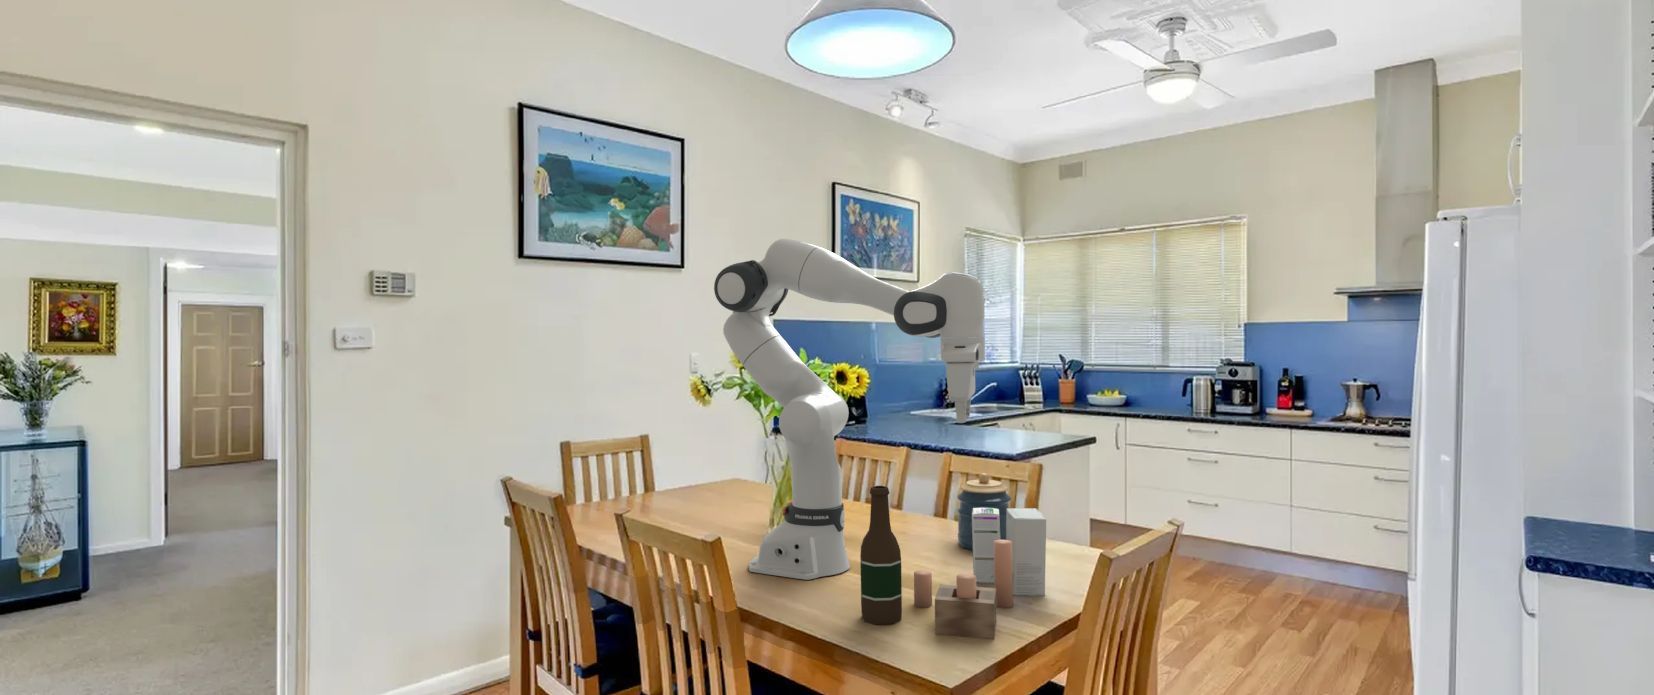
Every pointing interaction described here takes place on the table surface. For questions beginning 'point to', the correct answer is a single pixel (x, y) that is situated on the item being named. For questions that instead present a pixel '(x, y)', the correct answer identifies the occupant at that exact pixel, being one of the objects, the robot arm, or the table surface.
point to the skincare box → (1027, 550)
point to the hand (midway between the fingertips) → (963, 420)
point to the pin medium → (966, 586)
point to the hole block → (965, 613)
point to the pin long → (1003, 573)
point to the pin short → (922, 588)
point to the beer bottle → (880, 565)
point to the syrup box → (984, 542)
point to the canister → (980, 505)
